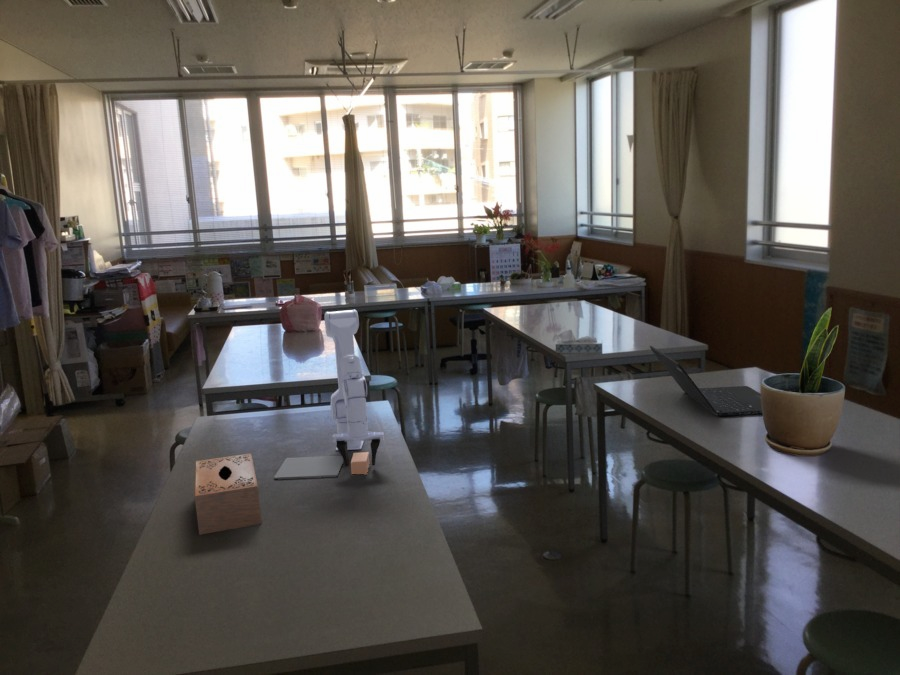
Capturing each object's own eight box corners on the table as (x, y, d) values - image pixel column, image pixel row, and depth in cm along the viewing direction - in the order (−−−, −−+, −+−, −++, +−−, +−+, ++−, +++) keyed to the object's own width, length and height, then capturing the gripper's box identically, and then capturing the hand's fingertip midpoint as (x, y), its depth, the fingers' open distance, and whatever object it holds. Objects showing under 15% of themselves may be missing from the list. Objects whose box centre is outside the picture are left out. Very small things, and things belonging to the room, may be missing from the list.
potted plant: (833, 465, 197) (841, 319, 189) (750, 452, 210) (754, 314, 202) (847, 443, 213) (855, 307, 206) (769, 431, 226) (773, 303, 219)
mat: (286, 459, 222) (286, 457, 222) (345, 457, 222) (345, 455, 222) (273, 479, 207) (273, 477, 207) (337, 476, 206) (337, 474, 206)
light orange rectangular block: (354, 465, 215) (353, 452, 214) (369, 464, 215) (368, 452, 215) (351, 475, 207) (350, 462, 207) (367, 474, 207) (366, 461, 207)
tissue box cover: (261, 524, 178) (257, 486, 176) (199, 535, 174) (194, 496, 172) (254, 487, 202) (251, 453, 201) (199, 496, 198) (195, 461, 196)
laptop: (789, 414, 243) (791, 357, 239) (677, 420, 242) (677, 363, 239) (747, 389, 276) (748, 339, 272) (648, 394, 275) (648, 344, 272)
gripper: (329, 424, 205) (333, 470, 207) (381, 422, 204) (384, 468, 207) (333, 417, 212) (337, 462, 214) (383, 415, 211) (386, 459, 214)
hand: (360, 464), depth 211 cm, fingers open, 7 cm apart
